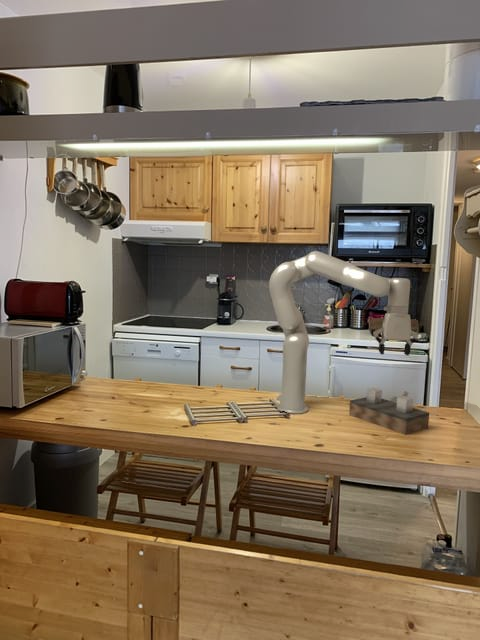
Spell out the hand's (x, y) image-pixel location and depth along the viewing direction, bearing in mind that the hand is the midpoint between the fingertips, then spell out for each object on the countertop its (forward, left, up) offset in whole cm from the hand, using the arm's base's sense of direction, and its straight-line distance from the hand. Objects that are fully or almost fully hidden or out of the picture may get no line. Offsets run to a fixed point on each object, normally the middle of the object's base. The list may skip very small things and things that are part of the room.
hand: (394, 354), depth 187 cm
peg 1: (-5, -3, -21) cm, 22 cm away
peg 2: (+9, -3, -21) cm, 23 cm away
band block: (+2, -3, -26) cm, 26 cm away
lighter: (-6, +15, -26) cm, 30 cm away
